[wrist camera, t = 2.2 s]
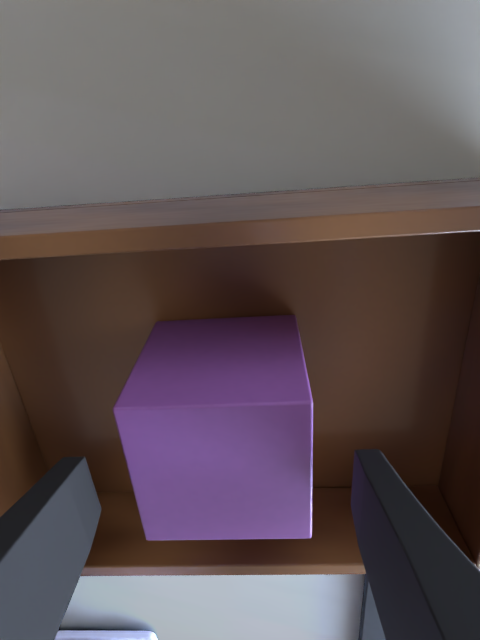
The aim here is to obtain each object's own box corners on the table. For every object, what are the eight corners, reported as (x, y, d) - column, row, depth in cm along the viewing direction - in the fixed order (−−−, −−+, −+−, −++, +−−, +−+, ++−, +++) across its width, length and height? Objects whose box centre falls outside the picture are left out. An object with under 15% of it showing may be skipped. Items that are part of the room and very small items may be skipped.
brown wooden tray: (53, 491, 19) (6, 577, 16) (-52, 213, 14) (-165, 246, 10) (444, 483, 18) (490, 574, 15) (507, 175, 13) (610, 197, 9)
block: (175, 429, 17) (145, 542, 12) (155, 320, 15) (110, 409, 10) (297, 425, 16) (312, 539, 12) (295, 313, 14) (313, 401, 10)
